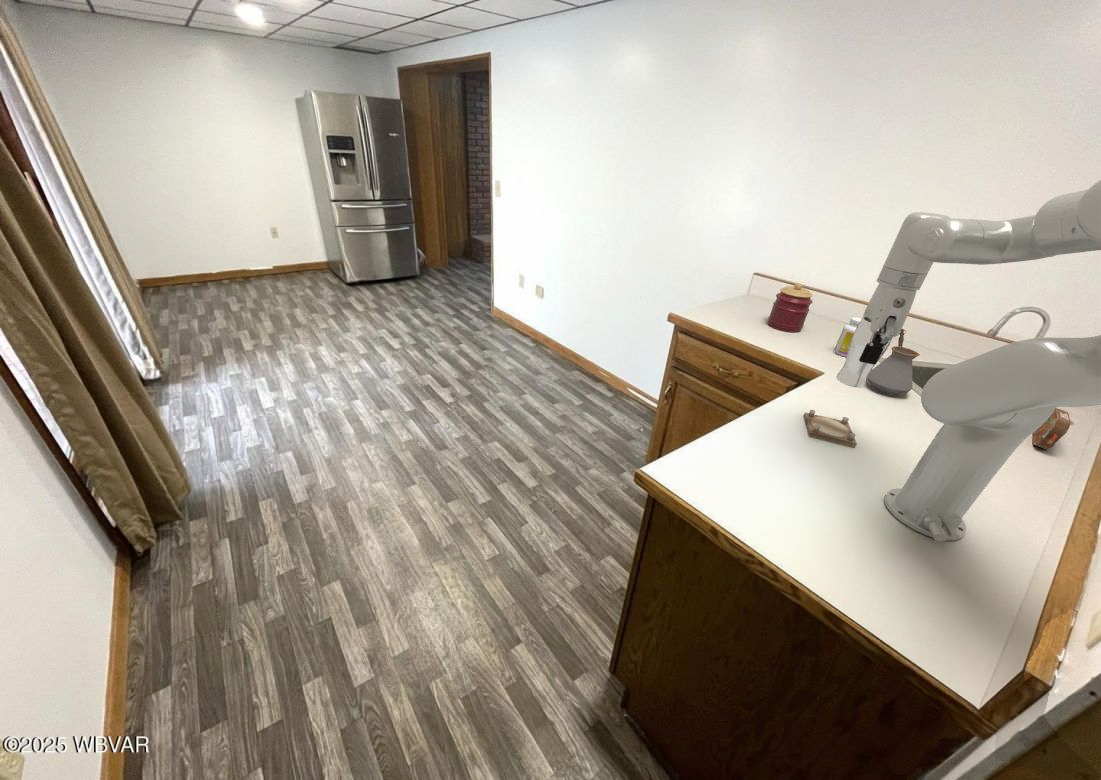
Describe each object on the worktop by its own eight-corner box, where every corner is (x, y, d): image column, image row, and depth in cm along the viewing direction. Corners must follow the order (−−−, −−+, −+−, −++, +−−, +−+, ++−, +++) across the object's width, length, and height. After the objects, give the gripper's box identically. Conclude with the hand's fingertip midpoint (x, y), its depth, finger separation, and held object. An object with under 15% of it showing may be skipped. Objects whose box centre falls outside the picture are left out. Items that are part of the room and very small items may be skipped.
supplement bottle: (858, 358, 149) (875, 324, 142) (839, 357, 149) (855, 322, 142) (847, 350, 155) (863, 316, 148) (829, 349, 155) (844, 315, 148)
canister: (762, 319, 179) (776, 277, 170) (794, 322, 177) (810, 280, 169) (772, 330, 167) (787, 286, 158) (806, 334, 166) (824, 290, 157)
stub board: (854, 447, 102) (859, 438, 101) (808, 436, 105) (812, 427, 103) (845, 425, 110) (850, 417, 109) (803, 416, 113) (807, 407, 111)
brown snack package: (1032, 427, 116) (1052, 401, 112) (1048, 433, 114) (1069, 406, 110) (1031, 450, 106) (1054, 422, 102) (1049, 456, 104) (1072, 428, 100)
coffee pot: (909, 403, 123) (936, 356, 115) (863, 391, 128) (886, 345, 120) (902, 375, 139) (925, 332, 132) (861, 365, 144) (881, 323, 136)
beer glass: (873, 391, 97) (905, 329, 89) (840, 386, 98) (869, 324, 90) (860, 376, 103) (889, 317, 95) (829, 372, 104) (856, 313, 96)
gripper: (938, 292, 80) (893, 376, 89) (908, 271, 94) (871, 345, 103) (892, 285, 82) (852, 368, 91) (869, 265, 96) (837, 339, 105)
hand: (863, 355), depth 97 cm, fingers closed on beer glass, 6 cm apart
